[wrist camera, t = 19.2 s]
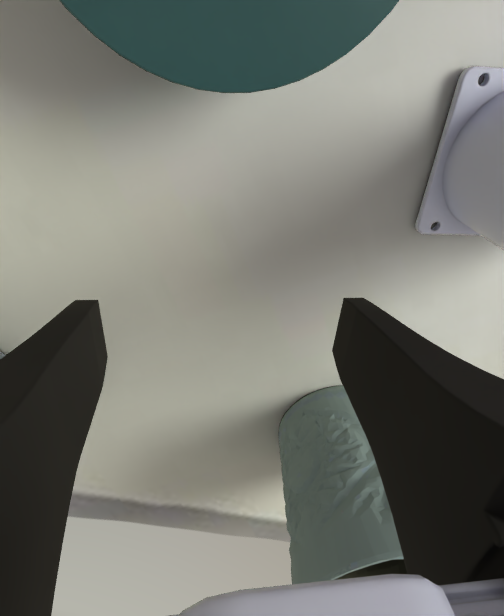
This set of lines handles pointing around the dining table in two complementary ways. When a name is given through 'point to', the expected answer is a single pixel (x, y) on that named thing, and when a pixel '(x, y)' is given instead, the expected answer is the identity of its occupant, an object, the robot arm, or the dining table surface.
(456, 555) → the robot arm
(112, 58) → the dining table surface
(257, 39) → the lid
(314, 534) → the green embossed cup
